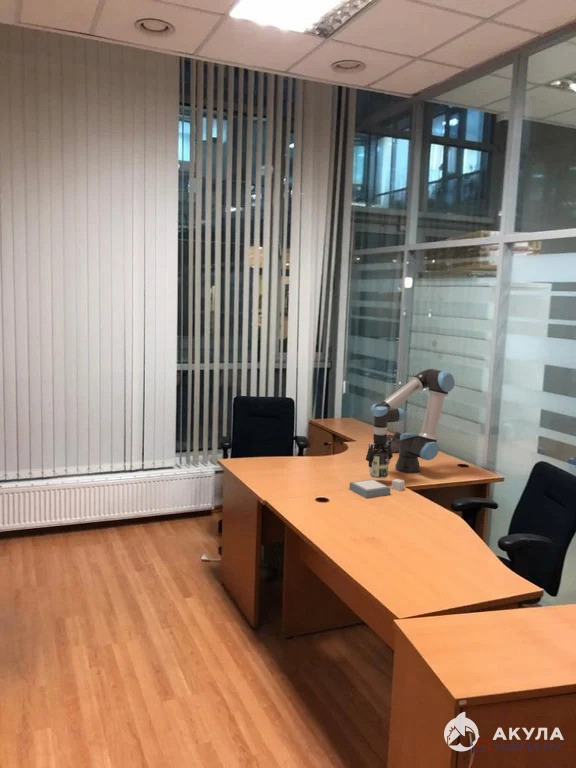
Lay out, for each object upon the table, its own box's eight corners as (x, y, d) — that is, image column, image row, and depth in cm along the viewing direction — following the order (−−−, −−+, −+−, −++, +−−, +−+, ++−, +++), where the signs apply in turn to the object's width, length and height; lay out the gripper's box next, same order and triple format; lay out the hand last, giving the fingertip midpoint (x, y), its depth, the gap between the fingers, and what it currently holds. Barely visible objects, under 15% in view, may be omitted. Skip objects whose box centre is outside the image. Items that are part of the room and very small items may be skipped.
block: (396, 487, 355) (396, 478, 354) (404, 489, 352) (404, 480, 351) (391, 489, 351) (392, 480, 351) (399, 491, 348) (399, 482, 347)
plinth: (372, 486, 356) (373, 478, 355) (390, 494, 342) (390, 487, 341) (349, 489, 348) (349, 482, 347) (365, 498, 334) (366, 490, 334)
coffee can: (388, 473, 366) (388, 450, 363) (387, 479, 356) (388, 455, 353) (370, 472, 368) (371, 449, 365) (369, 477, 358) (369, 454, 355)
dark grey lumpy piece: (381, 453, 424) (410, 455, 426) (383, 432, 423) (412, 433, 425) (376, 450, 438) (404, 451, 440) (378, 429, 437) (406, 431, 439)
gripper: (392, 430, 366) (390, 466, 370) (359, 434, 355) (358, 471, 359) (400, 432, 359) (398, 470, 363) (367, 437, 349) (366, 475, 353)
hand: (378, 471), depth 361 cm, fingers closed on coffee can, 10 cm apart
